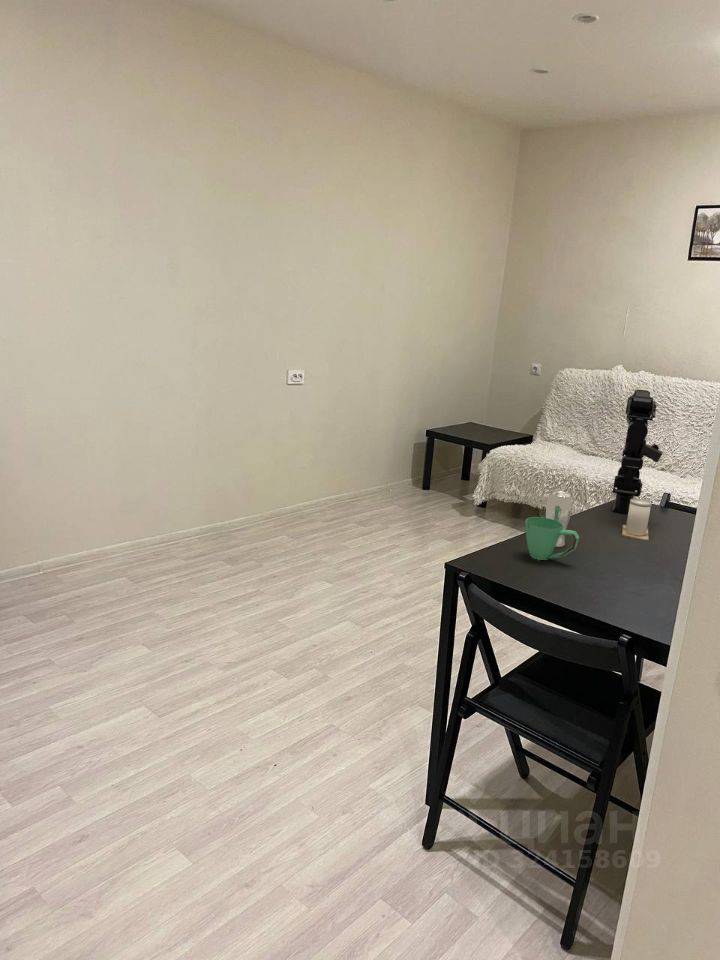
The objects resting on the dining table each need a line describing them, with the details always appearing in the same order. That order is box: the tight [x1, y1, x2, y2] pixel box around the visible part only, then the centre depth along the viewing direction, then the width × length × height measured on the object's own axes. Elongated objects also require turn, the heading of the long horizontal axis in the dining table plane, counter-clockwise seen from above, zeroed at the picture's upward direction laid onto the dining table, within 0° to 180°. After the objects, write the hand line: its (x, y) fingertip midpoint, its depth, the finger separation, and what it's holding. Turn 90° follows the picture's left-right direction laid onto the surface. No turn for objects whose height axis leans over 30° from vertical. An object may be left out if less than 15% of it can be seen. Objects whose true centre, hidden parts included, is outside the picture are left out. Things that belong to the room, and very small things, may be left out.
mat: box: [621, 524, 649, 542], centre depth 226 cm, size 12×8×1 cm, turn 160°
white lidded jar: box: [625, 498, 652, 536], centre depth 223 cm, size 6×6×10 cm
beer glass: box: [545, 490, 574, 548], centre depth 209 cm, size 7×7×15 cm
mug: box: [524, 516, 580, 561], centre depth 196 cm, size 15×10×10 cm
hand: (628, 483), depth 234 cm, fingers open, 9 cm apart
